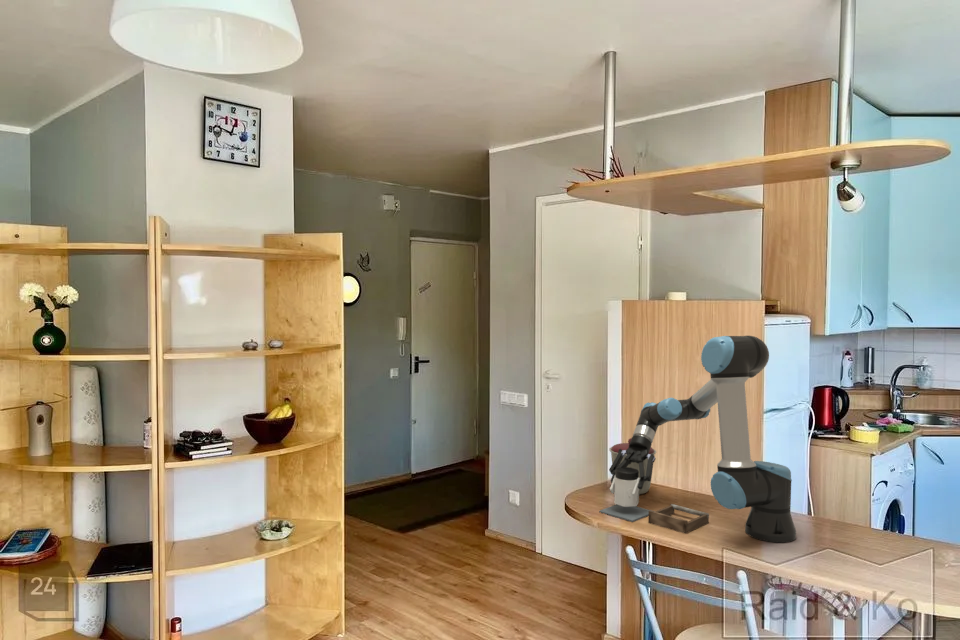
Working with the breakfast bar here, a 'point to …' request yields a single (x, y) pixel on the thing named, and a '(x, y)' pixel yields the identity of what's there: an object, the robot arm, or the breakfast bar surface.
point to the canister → (635, 465)
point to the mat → (626, 512)
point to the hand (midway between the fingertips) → (622, 493)
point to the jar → (626, 486)
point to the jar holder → (677, 519)
